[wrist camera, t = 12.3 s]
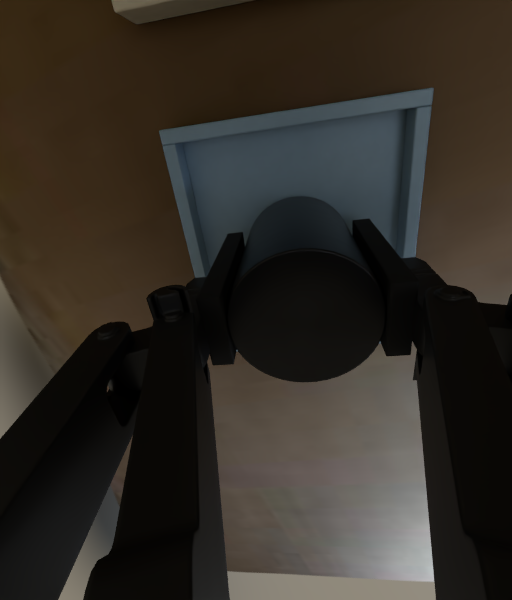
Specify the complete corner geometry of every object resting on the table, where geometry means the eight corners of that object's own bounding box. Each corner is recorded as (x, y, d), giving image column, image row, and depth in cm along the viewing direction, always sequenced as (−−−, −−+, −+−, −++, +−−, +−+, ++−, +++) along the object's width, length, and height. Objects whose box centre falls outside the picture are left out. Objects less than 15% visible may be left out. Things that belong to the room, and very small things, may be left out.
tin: (240, 202, 16) (211, 257, 10) (350, 189, 15) (393, 239, 9) (254, 295, 18) (239, 386, 12) (349, 288, 18) (383, 380, 12)
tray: (169, 128, 15) (158, 130, 14) (419, 89, 14) (434, 87, 12) (218, 337, 21) (213, 353, 20) (397, 326, 20) (406, 342, 18)
